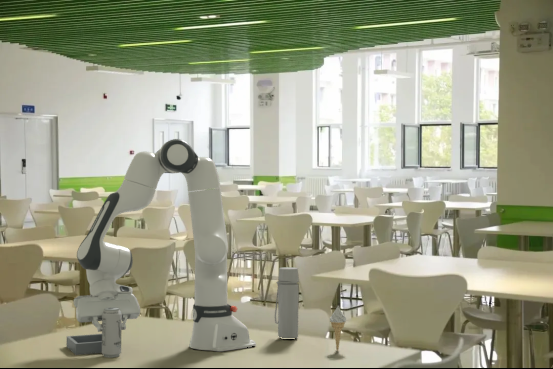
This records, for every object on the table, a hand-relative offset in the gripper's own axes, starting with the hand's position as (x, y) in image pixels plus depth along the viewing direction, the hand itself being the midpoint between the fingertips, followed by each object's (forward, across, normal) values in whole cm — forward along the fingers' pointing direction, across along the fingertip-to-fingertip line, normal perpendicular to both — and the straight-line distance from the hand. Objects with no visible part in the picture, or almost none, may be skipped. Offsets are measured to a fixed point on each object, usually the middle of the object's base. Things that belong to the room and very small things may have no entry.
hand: (112, 329), depth 252 cm
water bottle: (+3, +64, +9) cm, 65 cm away
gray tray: (-4, -3, +16) cm, 16 cm away
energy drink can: (+6, 0, +6) cm, 9 cm away
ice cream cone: (+21, +70, -9) cm, 74 cm away
